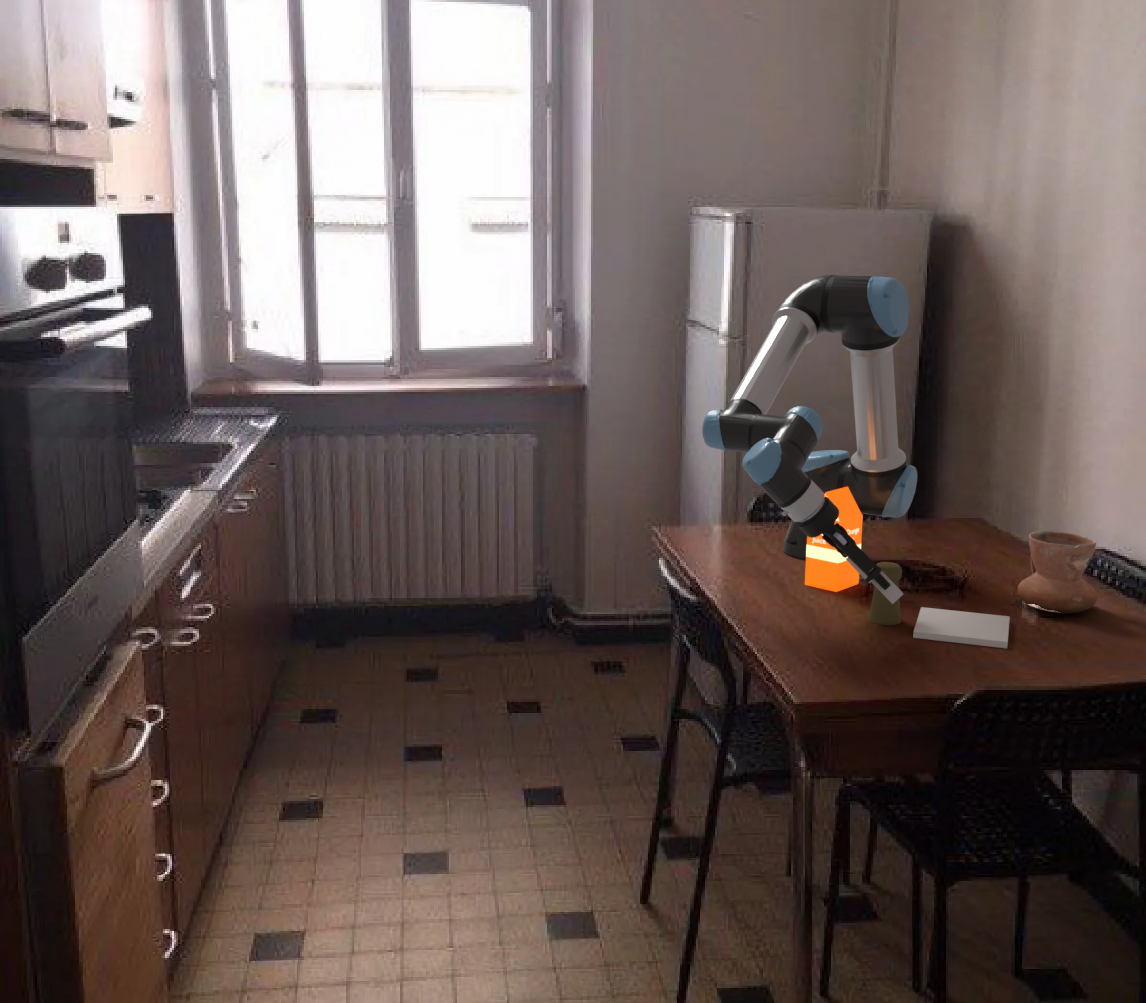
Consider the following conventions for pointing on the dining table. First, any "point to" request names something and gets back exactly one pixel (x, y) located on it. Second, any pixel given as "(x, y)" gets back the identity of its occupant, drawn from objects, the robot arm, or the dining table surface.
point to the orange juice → (824, 559)
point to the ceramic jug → (1059, 572)
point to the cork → (880, 605)
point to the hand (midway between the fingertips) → (885, 588)
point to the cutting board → (962, 627)
